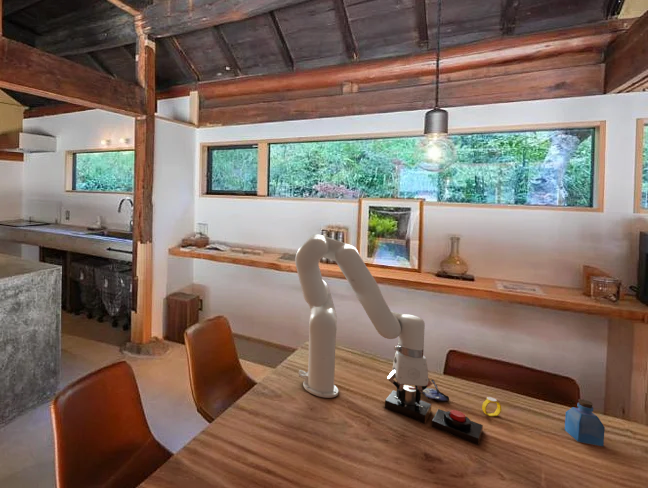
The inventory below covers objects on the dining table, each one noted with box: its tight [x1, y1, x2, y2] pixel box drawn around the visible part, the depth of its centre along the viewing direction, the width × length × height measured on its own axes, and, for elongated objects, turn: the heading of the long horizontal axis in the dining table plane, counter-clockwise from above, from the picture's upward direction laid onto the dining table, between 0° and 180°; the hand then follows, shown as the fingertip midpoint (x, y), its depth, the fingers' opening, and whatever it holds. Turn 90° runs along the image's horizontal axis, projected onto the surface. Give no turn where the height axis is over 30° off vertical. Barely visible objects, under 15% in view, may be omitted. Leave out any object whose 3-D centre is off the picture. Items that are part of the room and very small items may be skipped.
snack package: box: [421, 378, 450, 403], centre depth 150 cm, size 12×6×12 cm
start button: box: [449, 409, 466, 422], centre depth 130 cm, size 4×4×2 cm
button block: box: [431, 408, 484, 446], centre depth 130 cm, size 12×10×4 cm
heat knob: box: [403, 384, 416, 405], centre depth 140 cm, size 4×4×5 cm
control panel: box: [384, 389, 432, 425], centre depth 140 cm, size 12×10×3 cm
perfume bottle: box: [564, 398, 606, 447], centre depth 126 cm, size 6×6×12 cm
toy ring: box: [481, 396, 502, 417], centre depth 138 cm, size 6×3×6 cm, turn 93°
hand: (408, 400), depth 140 cm, fingers closed on heat knob, 4 cm apart
